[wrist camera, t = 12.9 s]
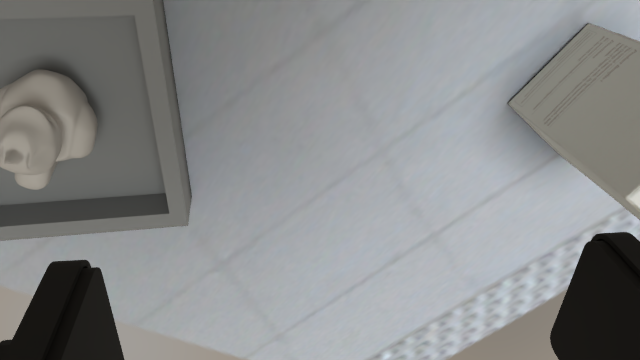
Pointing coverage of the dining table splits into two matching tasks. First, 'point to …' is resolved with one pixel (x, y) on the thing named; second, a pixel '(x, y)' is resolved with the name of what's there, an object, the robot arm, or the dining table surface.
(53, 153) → the beige rounded piece
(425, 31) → the dining table surface
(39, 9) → the tray
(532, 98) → the supplement box
